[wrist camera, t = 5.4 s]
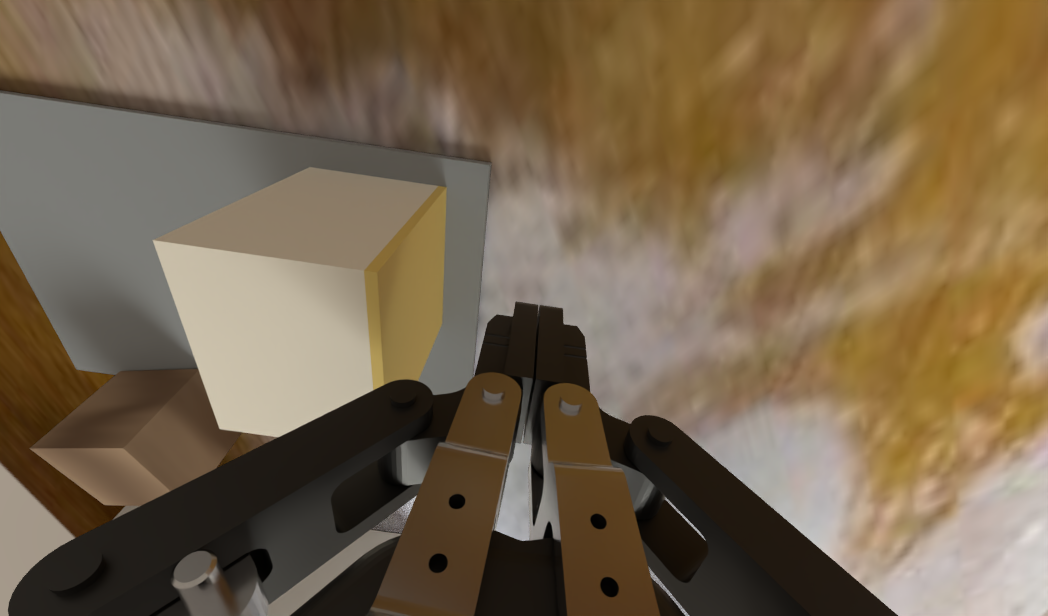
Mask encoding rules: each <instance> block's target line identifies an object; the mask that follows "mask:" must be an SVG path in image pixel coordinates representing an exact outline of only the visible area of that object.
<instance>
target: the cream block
mask: <svg viewBox="0 0 1048 616" xmlns="http://www.w3.org/2000/svg"><path fill="white" fill-rule="evenodd" d="M446 192H447V187H442V186H436V185H429V184H422V183H415V182H408V181H401V180H395V179H388V178H381V177H374V176H367V175H360V174H354V173H347V172H340V171H333V170H326V169H319V168H313V167H309V168H307V169H305V170H303V171H300V172H298V173H296V174H294V175H292V176H290V177H287V178H285V179H283V180H281V181H279V182H277V183H275V184H272V185H270V186H268V187H266V188H264V189H262V190H260V191H257V192H255V193H253V194H251V195H249V196H247V197H244V198H242V199H240V200H238V201H236V202H234V203H232V204H229V205H227V206H225V207H223V208H221V209H219V210H217V211H214V212H212V213H210V214H208V215H206V216H204V217H201V218H199V219H197V220H195V221H193V222H191V223H189V224H186V225H184V226H182V227H180V228H178V229H176V230H173V231H171V232H169V233H167V234H165V235H163V236H161V237H158V238H156V239H154V240H153V243H154V246H155V248H156V251H157V254H158V257H159V260H160V262H161V265H162V268H163V271H164V274H165V277H166V279H167V282H168V285H169V288H170V291H171V294H172V296H173V299H174V302H175V305H176V308H177V310H178V313H179V316H180V319H181V322H182V325H183V327H184V330H185V333H186V336H187V339H188V341H189V344H190V347H191V350H192V353H193V356H194V358H195V361H196V364H197V367H198V370H199V372H200V375H201V378H202V381H203V384H204V387H205V389H206V392H207V395H208V398H209V401H210V404H211V406H212V409H213V412H214V415H215V418H216V420H217V423H218V426H219V429H222V430H230V431H237V432H244V433H251V434H258V435H266V436H273V437H280V436H282V435H284V434H286V433H288V432H290V431H292V430H294V429H296V428H298V427H300V426H302V425H304V424H306V423H308V422H310V421H312V420H314V419H316V418H318V417H320V416H322V415H324V414H326V413H328V412H330V411H332V410H335V409H337V408H339V407H341V406H343V405H345V404H347V403H349V402H351V401H353V400H355V399H357V398H359V397H361V396H363V395H365V394H367V393H369V392H371V391H373V390H375V389H377V388H379V387H381V386H383V385H385V384H387V383H389V382H392V381H395V380H402V379H409V380H416V381H418V380H419V378H420V375H421V373H422V370H423V368H424V366H425V363H426V361H427V359H428V356H429V354H430V351H431V349H432V347H433V344H434V342H435V339H436V337H437V335H438V332H439V330H440V328H441V325H442V316H443V285H444V254H445V223H446Z"/></svg>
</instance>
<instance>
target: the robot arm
mask: <svg viewBox="0 0 1048 616" xmlns="http://www.w3.org/2000/svg"><path fill="white" fill-rule="evenodd" d="M537 316H538V317H537ZM586 358H587V355H586V345H585V337H584V335H583V334H582V333H581V331H580V330H579V328H578V327H577V326H572V325H565V324H563V309H562V308H556V307H550V306H543V305H540V307H539V311H538V305H536V304H529V303H522V302H516V303H515V309H514V315H513V317H510V316H504V315H496V316H495V317H494V318H492V319H491V320H490V321H489V322H488V324H487V328H486V332H485V336H484V340H483V344H482V348H481V352H480V356H479V360H478V364H477V368H476V372H475V376H474V377H473V378H472V379H471V380H470V381H469V382H468V384H467V386H466V387H465V388H463V389H461V390H459V391H456V392H453V393H447V394H438V395H433V393H432V391H431V390H430V388H429V387H428V386H426V385H425V384H423V383H421V382H419V381H416V380H409V379H402V380H395V381H392V382H389V383H387V384H385V385H383V386H381V387H379V388H377V389H375V390H373V391H371V392H369V393H367V394H365V395H363V396H361V397H359V398H357V399H355V400H353V401H351V402H349V403H347V404H345V405H343V406H341V407H339V408H337V409H335V410H332V411H330V412H328V413H326V414H324V415H322V416H320V417H318V418H316V419H314V420H312V421H310V422H308V423H306V424H304V425H302V426H300V427H298V428H296V429H294V430H292V431H290V432H288V433H286V434H284V435H282V436H280V437H278V438H276V439H274V440H272V441H270V442H268V443H266V444H264V445H262V446H260V447H258V448H256V449H254V450H252V451H250V452H248V453H246V454H244V455H242V456H240V457H238V458H236V459H234V460H232V461H230V462H228V463H226V464H224V465H222V466H220V467H218V468H216V469H214V470H212V471H210V472H208V473H206V474H204V475H202V476H200V477H198V478H196V479H194V480H192V481H190V482H188V483H186V484H184V485H182V486H180V487H178V488H176V489H174V490H172V491H170V492H168V493H166V494H164V495H162V496H160V497H158V498H156V499H154V500H152V501H149V502H147V503H145V504H143V505H141V506H139V507H137V508H135V509H133V510H131V511H129V512H127V513H125V514H123V515H121V516H119V517H117V518H115V519H113V520H111V521H109V522H107V523H105V524H103V525H101V526H99V527H97V528H95V529H93V530H91V531H89V532H87V533H85V534H83V535H81V536H79V537H77V538H75V539H73V540H71V541H69V542H67V543H66V544H64V545H62V546H60V547H59V548H57V549H56V550H54V551H53V552H51V553H50V554H48V555H47V556H45V557H44V558H43V559H42V560H40V561H39V562H38V563H37V564H36V565H35V566H34V567H33V568H31V569H30V571H29V572H28V573H27V574H26V575H25V576H24V577H23V579H22V580H21V581H20V582H19V584H18V585H17V587H16V589H15V590H14V592H13V594H12V597H11V599H10V602H9V607H8V613H9V616H267V614H268V605H269V604H271V603H272V602H273V601H275V600H276V599H278V598H279V597H280V596H282V595H283V594H284V593H286V592H287V591H288V590H290V589H291V588H292V587H294V586H295V585H296V584H298V583H299V582H300V581H302V580H303V579H304V578H306V577H307V576H309V575H310V574H311V573H313V572H314V571H315V570H317V569H318V568H319V567H321V566H322V565H323V564H325V563H326V562H327V561H329V560H330V559H331V558H333V557H334V556H335V555H337V554H338V553H339V552H341V551H342V550H344V549H345V548H346V547H348V546H349V545H350V544H352V543H353V542H354V541H356V540H357V539H358V538H360V537H361V536H362V535H364V534H365V533H366V532H368V531H369V530H370V529H372V528H373V527H375V526H376V525H377V524H379V523H380V522H381V521H383V520H384V519H385V518H387V517H388V516H389V515H391V514H392V513H393V512H395V511H396V510H397V509H399V508H400V507H401V506H403V505H404V504H406V503H407V502H408V501H410V500H411V499H412V498H414V497H415V496H416V495H417V497H416V499H415V502H414V504H413V506H412V509H411V511H410V514H409V516H408V519H407V521H406V524H405V526H404V529H403V531H402V534H401V535H400V536H397V537H394V538H392V539H389V540H387V541H385V542H383V543H381V544H379V545H377V546H376V547H374V548H373V549H371V550H370V551H368V552H367V553H365V554H364V555H363V556H361V557H360V558H359V559H358V560H356V561H355V562H354V563H353V564H351V565H350V566H349V567H348V568H347V569H345V570H344V571H343V572H342V573H341V574H339V575H338V576H337V577H336V578H335V579H333V580H332V581H331V582H330V583H328V584H327V585H326V586H325V587H324V588H322V589H321V590H320V591H319V592H318V593H316V594H315V595H314V596H313V597H312V598H310V599H309V600H308V601H307V602H306V603H304V604H303V605H302V606H301V607H299V608H298V609H297V610H296V611H295V612H293V613H292V614H291V615H290V616H685V615H684V614H683V613H682V611H681V610H680V609H679V608H678V606H677V605H676V604H675V602H674V601H673V600H672V599H671V598H670V596H669V595H668V594H667V593H666V592H665V591H664V590H663V589H662V588H661V587H660V586H659V585H658V584H657V583H656V582H655V581H654V580H653V579H652V578H651V577H650V573H649V569H648V566H649V568H650V569H651V570H652V571H653V572H654V573H655V575H656V576H657V577H658V578H659V579H660V581H661V582H662V583H663V584H664V585H665V587H666V588H667V589H668V590H669V591H670V593H671V594H672V595H673V596H674V597H675V599H676V600H677V601H678V602H679V603H680V605H681V606H682V607H683V608H684V609H685V611H686V612H687V613H688V614H689V615H690V616H898V615H897V614H895V613H894V612H893V611H892V610H891V609H890V608H888V607H887V606H886V605H885V604H884V603H883V602H881V601H880V600H879V599H878V598H877V597H876V596H874V595H873V594H872V593H871V592H870V591H869V590H867V589H866V588H865V587H864V586H863V585H862V584H860V583H859V582H858V581H857V580H856V579H854V578H853V577H852V576H851V575H850V574H849V573H847V572H846V571H845V570H844V569H843V568H842V567H840V566H839V565H838V564H837V563H836V562H835V561H833V560H832V559H831V558H830V557H829V556H828V555H826V554H825V553H824V552H823V551H822V550H821V549H819V548H818V547H817V546H816V545H815V544H814V543H812V542H811V541H810V540H809V539H808V538H807V537H805V536H804V535H803V534H802V533H801V532H800V531H798V530H797V529H796V528H795V527H794V526H793V525H791V524H790V523H789V522H788V521H787V520H786V519H784V518H783V517H782V516H781V515H780V514H779V513H777V512H776V511H775V510H774V509H773V508H771V507H770V506H769V505H768V504H767V503H766V502H764V501H763V500H762V499H761V498H760V497H759V496H757V495H756V494H755V493H754V492H753V491H752V490H750V489H749V488H748V487H747V486H746V485H745V484H743V483H742V482H741V481H740V480H739V479H738V478H736V477H735V476H734V475H733V474H732V473H731V472H729V471H728V470H727V469H726V468H725V467H724V466H722V465H721V464H720V463H719V462H718V461H717V460H715V459H714V458H713V457H712V456H711V455H710V454H708V453H707V452H706V451H705V450H704V449H703V448H701V447H700V446H699V445H698V444H697V443H696V442H694V441H693V440H692V439H691V438H690V437H689V436H687V435H686V434H685V433H684V432H683V431H681V430H680V429H679V428H678V427H677V426H675V425H674V424H673V423H671V422H669V421H668V420H666V419H663V418H660V417H657V416H651V415H645V416H640V417H637V418H636V419H634V420H633V421H632V423H631V424H629V423H626V422H624V421H621V420H619V419H616V418H614V417H612V416H610V415H608V414H607V413H605V412H604V411H602V410H601V409H600V408H599V406H598V403H597V400H596V398H595V397H594V396H593V395H592V394H591V393H590V384H589V375H588V365H587V359H586ZM524 424H525V429H524ZM523 429H524V441H523V443H524V444H531V445H532V449H531V458H530V463H529V467H528V489H529V541H520V540H517V539H514V538H512V537H509V536H507V535H505V534H502V533H500V532H497V531H496V527H497V522H498V517H499V512H500V507H501V502H502V497H503V492H504V488H505V483H506V478H507V473H508V468H509V463H510V462H511V460H512V458H513V454H514V448H515V443H521V440H522V435H523ZM665 497H666V498H667V499H668V500H669V501H670V502H671V503H672V504H673V505H674V506H675V507H676V508H677V509H678V510H679V511H680V512H681V513H682V514H683V515H684V516H685V517H686V518H687V519H688V520H689V521H690V522H691V523H692V524H693V525H694V526H695V527H696V528H697V529H698V530H699V531H700V532H701V534H702V535H703V536H704V538H705V540H706V541H705V540H704V539H703V538H702V537H701V536H700V535H699V534H698V533H697V532H696V531H695V530H694V529H693V528H692V527H691V526H690V525H689V524H688V522H687V521H686V520H685V519H684V518H683V517H682V516H681V515H680V514H679V513H678V512H677V511H676V510H675V509H674V508H673V507H672V506H671V505H670V504H669V503H668V502H667V501H666V500H665Z"/></svg>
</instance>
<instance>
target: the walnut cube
mask: <svg viewBox="0 0 1048 616" xmlns="http://www.w3.org/2000/svg"><path fill="white" fill-rule="evenodd" d="M241 433H242V432H237V431H230V430H222V429H219V426H218V423H217V420H216V418H215V415H214V412H213V409H212V406H211V404H210V401H209V398H208V395H207V392H206V389H205V387H204V384H203V381H202V378H201V375H200V372H199V370H198V369H176V370H142V371H120V372H118V373H117V374H116V375H115V376H114V377H113V378H111V379H110V380H109V381H108V382H107V383H106V384H104V385H103V386H102V387H101V388H100V389H99V390H97V391H96V392H95V393H94V394H93V395H92V396H90V397H89V398H88V399H87V400H86V401H84V402H83V403H82V404H81V405H80V406H79V407H77V408H76V409H75V410H74V411H73V412H72V413H70V414H69V415H68V416H67V417H66V418H65V419H63V420H62V421H61V422H60V423H59V424H58V425H56V426H55V427H54V428H53V429H52V430H51V431H49V432H48V433H47V434H46V435H45V436H44V437H42V438H41V439H40V440H39V441H38V442H37V443H35V444H34V445H33V446H32V447H31V448H29V449H31V450H32V451H33V452H35V453H36V454H37V455H39V456H40V457H41V458H43V459H44V460H45V461H47V462H48V463H49V464H51V465H52V466H53V467H55V468H56V469H57V470H59V471H60V472H61V473H63V474H64V475H65V476H67V477H68V478H69V479H71V480H72V481H73V482H74V483H76V484H77V485H78V486H80V487H81V488H82V489H84V490H85V491H86V492H88V493H89V494H90V495H92V496H93V497H94V498H96V499H97V500H98V501H100V502H101V503H102V504H104V505H119V506H141V505H143V504H145V503H147V502H149V501H152V500H154V499H156V498H158V497H160V496H162V495H164V494H166V493H168V492H170V491H172V490H174V489H176V488H178V487H180V486H182V485H184V484H186V483H188V482H190V481H192V480H194V479H196V478H198V477H200V476H202V475H204V474H206V473H208V472H210V471H212V470H214V469H216V468H217V466H218V465H219V464H220V462H221V461H222V459H223V458H224V457H225V455H226V454H227V453H228V451H229V450H230V449H231V447H232V446H233V444H234V443H235V442H236V440H237V439H238V438H239V436H240V435H241Z"/></svg>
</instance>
